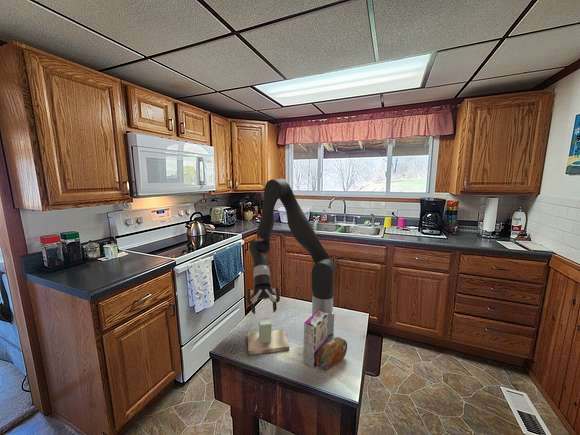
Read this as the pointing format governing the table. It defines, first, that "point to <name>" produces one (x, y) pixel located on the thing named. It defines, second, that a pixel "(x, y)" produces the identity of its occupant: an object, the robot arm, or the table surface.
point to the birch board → (275, 345)
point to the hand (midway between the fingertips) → (264, 312)
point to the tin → (331, 353)
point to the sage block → (265, 330)
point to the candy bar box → (315, 336)
